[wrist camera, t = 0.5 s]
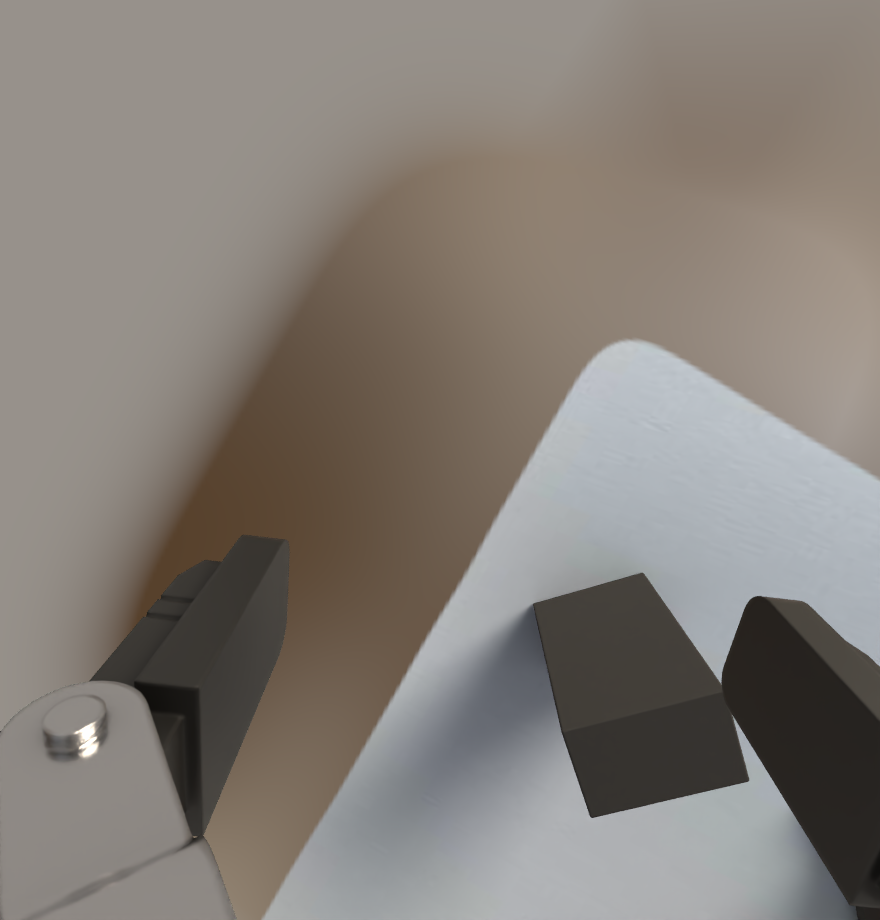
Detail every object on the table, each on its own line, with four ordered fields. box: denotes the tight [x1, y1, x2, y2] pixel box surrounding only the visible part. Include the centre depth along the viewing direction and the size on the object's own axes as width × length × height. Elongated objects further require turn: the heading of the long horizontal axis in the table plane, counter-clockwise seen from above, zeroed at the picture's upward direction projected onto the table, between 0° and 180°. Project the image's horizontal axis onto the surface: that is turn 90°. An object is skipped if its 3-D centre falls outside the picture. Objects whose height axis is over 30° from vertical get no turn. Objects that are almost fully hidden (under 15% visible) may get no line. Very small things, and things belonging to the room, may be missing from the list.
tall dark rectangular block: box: [533, 573, 749, 818], centre depth 26 cm, size 4×6×10 cm, turn 109°
